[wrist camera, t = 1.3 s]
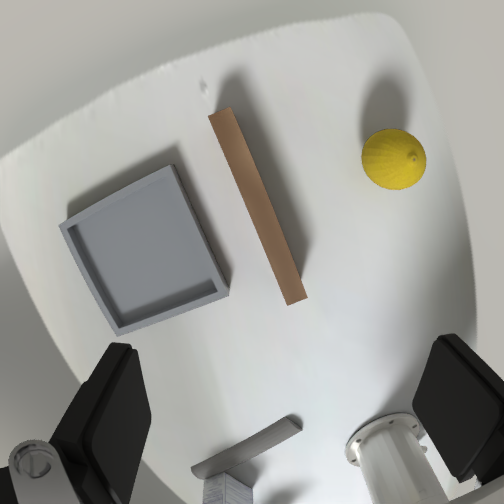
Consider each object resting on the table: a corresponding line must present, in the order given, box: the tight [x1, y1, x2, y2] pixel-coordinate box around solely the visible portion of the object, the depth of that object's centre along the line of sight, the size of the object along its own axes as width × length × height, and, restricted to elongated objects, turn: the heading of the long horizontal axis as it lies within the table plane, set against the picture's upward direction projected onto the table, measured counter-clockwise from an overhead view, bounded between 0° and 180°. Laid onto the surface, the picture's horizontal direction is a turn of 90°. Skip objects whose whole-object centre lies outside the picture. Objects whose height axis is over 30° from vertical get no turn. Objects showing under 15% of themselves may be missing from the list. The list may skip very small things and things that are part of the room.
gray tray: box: [59, 165, 230, 337], centre depth 30 cm, size 14×14×2 cm
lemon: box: [361, 129, 426, 190], centre depth 25 cm, size 6×6×8 cm
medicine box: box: [203, 472, 253, 504], centre depth 38 cm, size 8×4×9 cm, turn 35°
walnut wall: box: [208, 107, 308, 306], centre depth 28 cm, size 2×18×4 cm, turn 22°
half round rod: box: [191, 417, 302, 480], centre depth 39 cm, size 4×20×2 cm, turn 132°
